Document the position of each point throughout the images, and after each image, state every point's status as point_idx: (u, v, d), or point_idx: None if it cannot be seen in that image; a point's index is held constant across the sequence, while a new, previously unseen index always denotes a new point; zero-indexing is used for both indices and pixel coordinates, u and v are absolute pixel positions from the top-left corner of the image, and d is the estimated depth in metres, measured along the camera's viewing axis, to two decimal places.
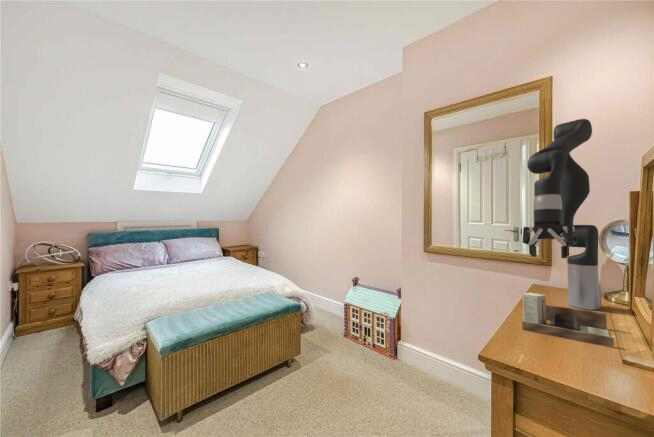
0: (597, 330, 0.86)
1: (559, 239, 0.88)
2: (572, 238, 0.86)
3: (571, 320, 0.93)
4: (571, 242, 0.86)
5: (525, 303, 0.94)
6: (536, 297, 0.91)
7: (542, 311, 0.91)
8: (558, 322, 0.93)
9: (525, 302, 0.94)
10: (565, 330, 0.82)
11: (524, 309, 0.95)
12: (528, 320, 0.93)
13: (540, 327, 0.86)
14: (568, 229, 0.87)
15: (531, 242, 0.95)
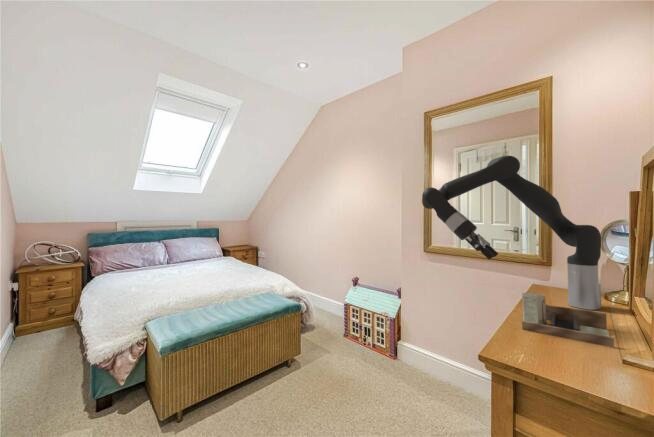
0: (597, 330, 0.86)
1: (475, 248, 1.02)
2: (473, 247, 1.00)
3: (571, 320, 0.93)
4: (476, 250, 0.99)
5: (525, 303, 0.94)
6: (536, 297, 0.91)
7: (542, 311, 0.91)
8: (558, 322, 0.93)
9: (525, 302, 0.94)
10: (565, 330, 0.82)
11: (524, 309, 0.95)
12: (528, 320, 0.93)
13: (540, 327, 0.86)
14: None
15: None
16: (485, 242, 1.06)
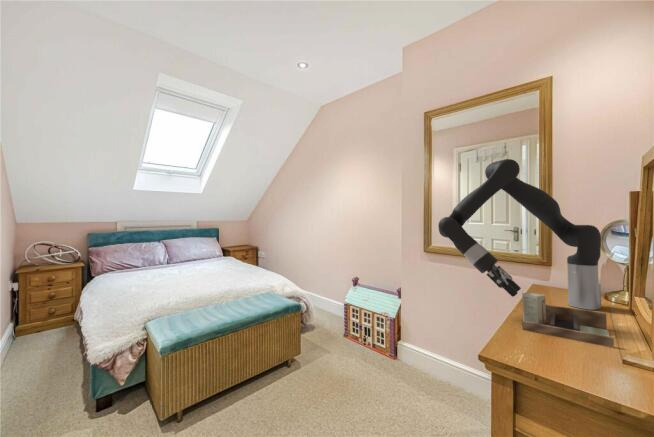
0: (597, 330, 0.86)
1: None
2: (496, 283, 0.95)
3: (571, 320, 0.93)
4: (498, 286, 0.95)
5: (525, 303, 0.94)
6: (536, 297, 0.91)
7: (542, 311, 0.91)
8: (558, 322, 0.93)
9: (525, 302, 0.94)
10: (565, 330, 0.82)
11: (524, 309, 0.95)
12: (528, 320, 0.93)
13: (540, 327, 0.86)
14: None
15: None
16: (507, 276, 1.01)
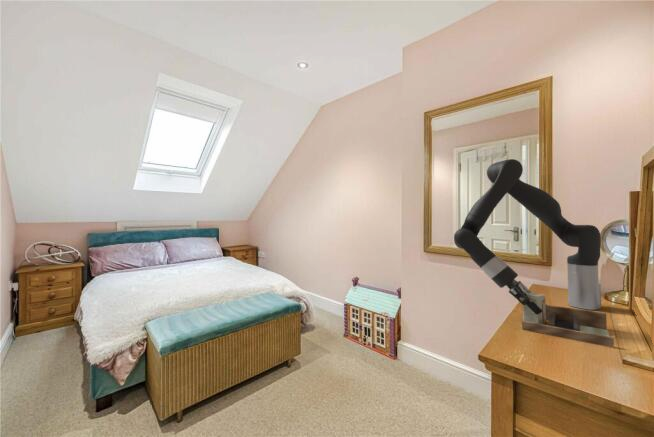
0: (597, 330, 0.86)
1: (520, 300, 0.94)
2: (519, 301, 0.91)
3: (571, 320, 0.93)
4: (522, 304, 0.91)
5: None
6: (536, 297, 0.91)
7: (542, 311, 0.91)
8: (558, 322, 0.93)
9: None
10: (565, 330, 0.82)
11: (524, 309, 0.94)
12: (528, 320, 0.93)
13: (540, 327, 0.86)
14: None
15: None
16: None
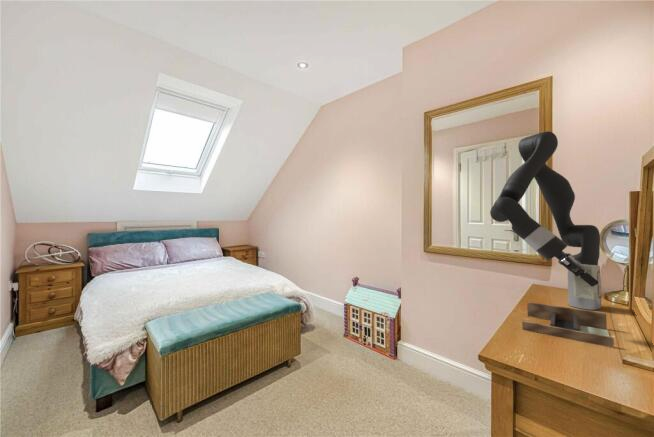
0: (597, 330, 0.86)
1: (571, 271, 0.85)
2: (572, 272, 0.83)
3: (571, 320, 0.93)
4: (575, 275, 0.83)
5: None
6: (591, 267, 0.83)
7: None
8: (558, 322, 0.93)
9: None
10: (565, 330, 0.82)
11: (576, 282, 0.86)
12: (581, 293, 0.85)
13: (540, 327, 0.86)
14: (562, 264, 0.85)
15: None
16: (578, 263, 0.88)
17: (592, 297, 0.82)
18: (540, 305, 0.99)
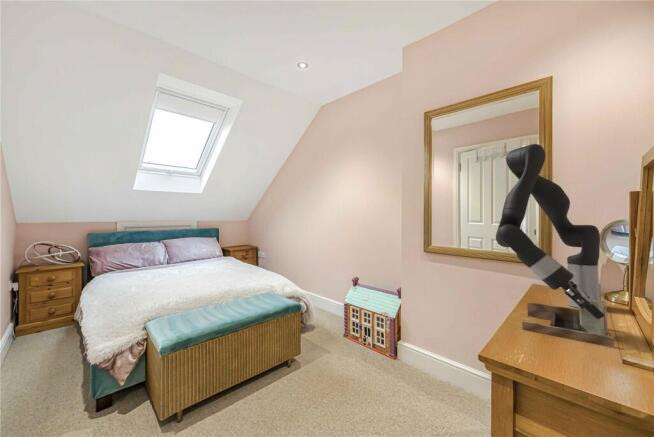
0: None
1: (577, 302, 0.84)
2: (577, 303, 0.82)
3: (571, 320, 0.93)
4: (581, 307, 0.81)
5: (583, 310, 0.85)
6: (597, 303, 0.82)
7: (604, 319, 0.82)
8: (558, 322, 0.93)
9: (583, 309, 0.85)
10: (565, 330, 0.82)
11: (582, 317, 0.85)
12: (587, 329, 0.84)
13: (540, 327, 0.86)
14: None
15: None
16: (584, 293, 0.88)
17: (599, 334, 0.81)
18: (540, 305, 0.99)
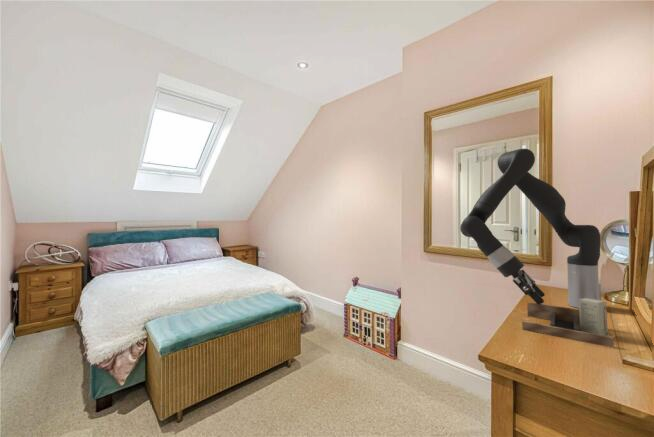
0: None
1: None
2: (522, 290, 0.91)
3: (571, 320, 0.93)
4: (525, 293, 0.91)
5: (583, 310, 0.85)
6: (597, 303, 0.82)
7: (604, 319, 0.82)
8: (558, 322, 0.93)
9: (583, 309, 0.85)
10: (565, 330, 0.82)
11: (582, 317, 0.85)
12: (587, 329, 0.84)
13: (540, 327, 0.86)
14: None
15: None
16: (531, 281, 0.97)
17: (599, 334, 0.81)
18: (540, 305, 0.99)
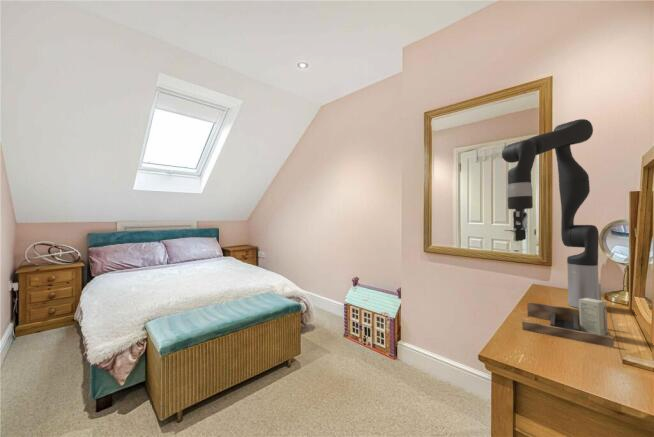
0: None
1: None
2: (514, 223, 0.96)
3: (571, 320, 0.93)
4: (513, 226, 0.97)
5: (583, 310, 0.85)
6: (597, 303, 0.82)
7: (604, 319, 0.82)
8: (558, 322, 0.93)
9: (583, 309, 0.85)
10: (565, 330, 0.82)
11: (582, 317, 0.85)
12: (587, 329, 0.84)
13: (540, 327, 0.86)
14: (514, 215, 0.97)
15: None
16: (525, 224, 1.02)
17: (599, 334, 0.81)
18: (540, 305, 0.99)
